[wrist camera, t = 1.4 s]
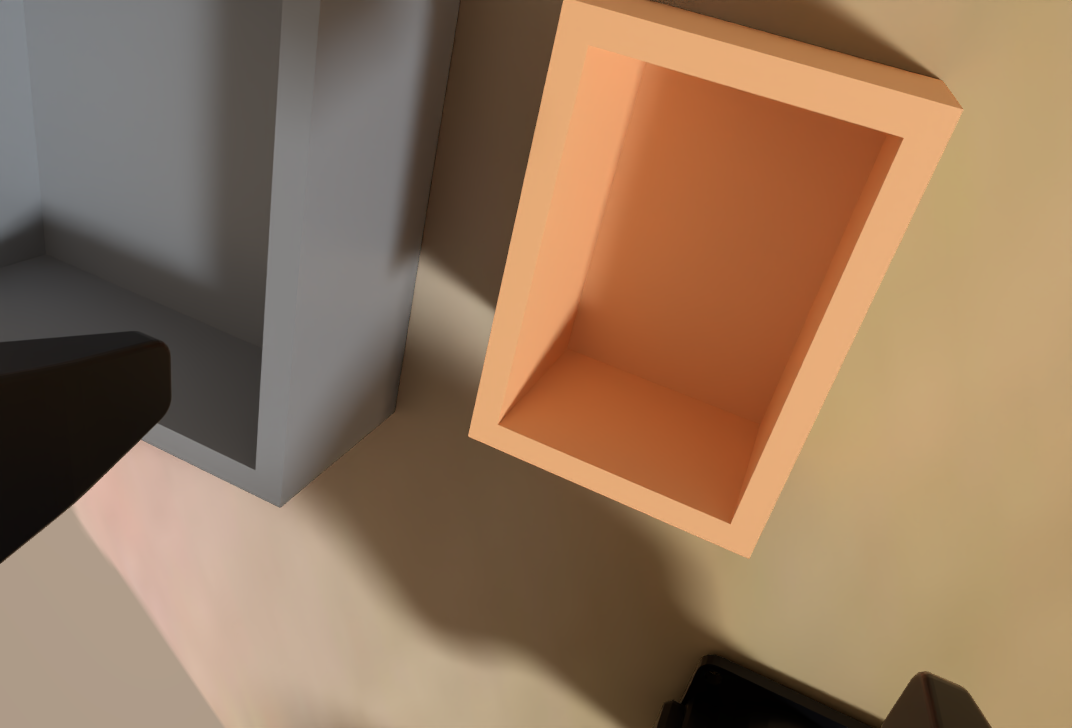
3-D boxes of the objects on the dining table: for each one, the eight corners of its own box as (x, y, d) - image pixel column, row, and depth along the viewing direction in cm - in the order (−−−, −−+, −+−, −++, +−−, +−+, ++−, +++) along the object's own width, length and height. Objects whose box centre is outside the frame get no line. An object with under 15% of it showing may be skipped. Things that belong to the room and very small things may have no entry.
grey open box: (475, -99, 18) (331, -135, 13) (394, 411, 25) (280, 508, 20) (8, -220, 21) (-241, -282, 16) (50, 261, 28) (-117, 313, 23)
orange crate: (942, 80, 16) (963, 109, 12) (777, 441, 20) (749, 559, 16) (642, -2, 17) (563, -3, 13) (549, 351, 22) (468, 436, 17)
